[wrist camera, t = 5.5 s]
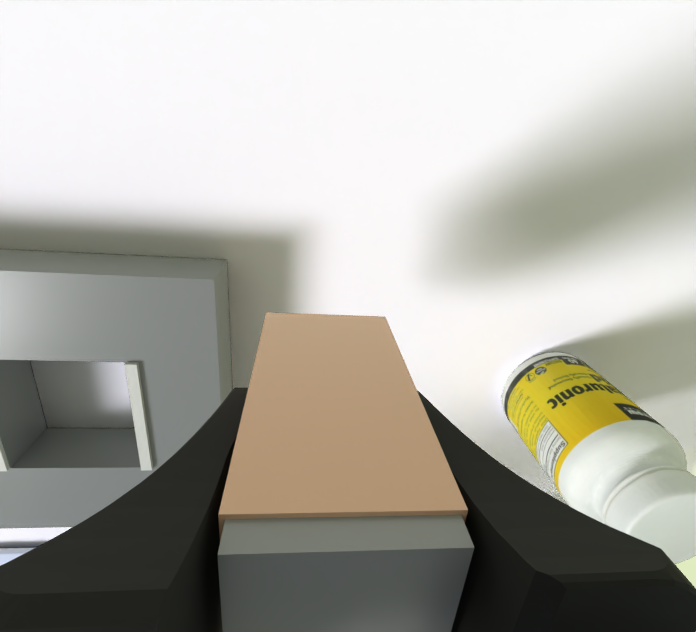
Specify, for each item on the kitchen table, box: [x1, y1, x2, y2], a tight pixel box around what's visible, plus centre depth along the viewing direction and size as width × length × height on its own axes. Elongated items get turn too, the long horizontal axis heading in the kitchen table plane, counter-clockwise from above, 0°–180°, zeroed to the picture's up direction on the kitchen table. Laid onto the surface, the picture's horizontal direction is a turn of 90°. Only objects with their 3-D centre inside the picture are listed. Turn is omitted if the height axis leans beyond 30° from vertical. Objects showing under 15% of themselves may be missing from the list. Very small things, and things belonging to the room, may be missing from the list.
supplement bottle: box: [502, 352, 696, 564], centre depth 20 cm, size 5×5×10 cm
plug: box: [218, 313, 474, 632], centre depth 11 cm, size 4×4×9 cm
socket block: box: [0, 249, 232, 528], centre depth 20 cm, size 14×14×3 cm
